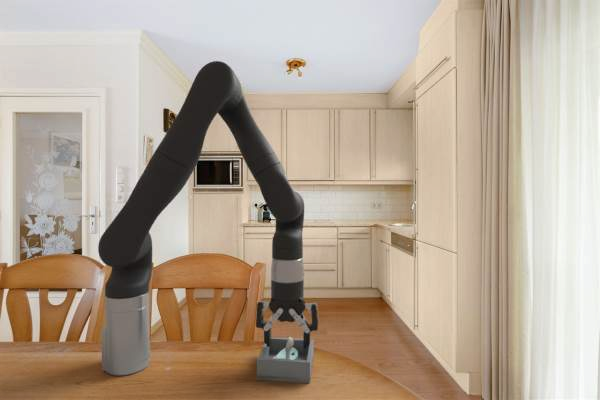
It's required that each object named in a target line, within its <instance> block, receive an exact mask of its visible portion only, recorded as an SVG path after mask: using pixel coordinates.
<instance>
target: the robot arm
mask: <svg viewBox="0 0 600 400" xmlns="http://www.w3.org/2000/svg"><path fill="white" fill-rule="evenodd" d="M184 99H185V100H184V102H183V104H182V106H181V108H180V110H179V112H177V113H178V114H177V115H176V117H175V118H174V120H173V122H172V123H171V125H170V127H169V128H168V130H167V132H165V135H164V137H163V138H162V140H161V142H160V143H159V144H158V146H157V147H156V149H155V151H154V153H153V154H152V156H151V157H150V159H149V161H148V162H147V164H146V167H145V169H144V170H143V172H142V174H141V176H140V177H139V179H138V181H137V182H136V184H135V186H134V188H133V189H132V191H131V194H130V195H129V197H128V199H127V201H126V202H125V204H124V205H123V207H122V208H121V210H120V211H119V212H118V214H117V215H116V216H115V218H114V219H113V220H112V221H111V223H110V224H109V225H108V227H107V228H106V229H105V231H104V232H103V234H102V235H101V236H100V239H99V241H98V247H97V248H98V249H97V251H98V255H99V259H100V260H101V261H102V262H103V264H105V265H106V266H108V267H111V271H110V275H109V276H108V279H107V281H106V282H105V285H104V301H105V302H104V305H105V306H104V308H105V326H104V327H103V328H102V329H101V335H100V336H101V371H103V372H106V373H107V374H109V375H111V376H128V375H132V374H135V373H139V372H141V371H142V370H145V369H146V368H147V367H148V366H149V365H150V363H151V361H150V360H151V356H150V355H151V351H150V349H151V348H150V345H151V344H150V343H151V342H150V341H151V338H150V337H151V336H150V335H151V334H150V283H151V282H150V281H151V278H152V275H153V274H152V272H153V240H152V236H151V234H150V231H151V228H152V227H153V225H154V223H155V221H156V220H157V219H158V217H159V216H160V215H161V214H162V212H163V211H164V210H165V209H166V208H167V207H168V205H170V204H171V203H172V201H174V199H175V198H176V197H177V196H178V195H179V193H181V191H182V190H183V188H184V187H185V185H186V184H187V182H188V181H189V179H190V177H191V176H192V174H193V172H194V170H195V169H196V166H197V165H198V163H199V160H200V157H201V154H202V150H203V147H204V142H205V139H206V135H207V132H208V129H209V127H210V126H211V124H212V123H213V120H214V118H215V117H216V116H217V114H218V115H219V116H220V118H221V119H222V121H224V123H225V124H226V126H227V127H228V129H229V131H230V132H231V133H232V136H233V137H234V138H233V139H234V140H235V142H236V144H237V147H238V150H239V151H240V155H241V156H242V159H243V160H244V162H245V164H246V166H247V168H248V170H249V172H250V173H251V175H252V177H253V179H254V180H255V182H256V184H257V185H258V187H259V189H260V192H261V195H262V197H263V200H264V202H265V205H266V207H267V208H268V211H269V212H270V214H271V215H272V216H273V218H274V219H275V231H274V233H273V236H272V241H271V242H272V243H271V244H272V245H271V253H272V255H271V265H270V267H271V268H270V301H265V300H264V299H263V298H262V299H260V300H258V302H257V304H256V315H255V316H256V319H255V320H256V321H255V327H256V328H257V329H262V330H263V343H264V344H267V347H270V345H271V337H272V328H271V327H272V326H273V325H274V324H275V323H276V321H279V322H283V323H284V322H288V323H294V322H296V323H297V325H298V326H299V327H301V329H302V330H303V338H302V339H303V349H307V346H309V344H310V339H311V332H313V331H314V332H316V331H318V329H319V312H318V311H319V310H318V303H317V301H312V302H305V299H304V298H305V297H304V296H305V294H304V293H305V292H304V291H305V290H304V287H305V286H304V284H305V283H304V281H305V280H304V279H305V278H304V277H305V269H304V266H305V265H304V260H303V255H304V254H303V253H304V252H303V251H304V250H303V247H304V245H303V229H304V223H305V221H304V220H305V203H304V199H303V197H302V196H301V194H300V193H299V192H298V191H295V190H294V189H293V187H292V185H291V184H290V181H289V180H288V179H287V176H286V171H285V169H284V167H283V165H282V163H281V161H280V160H279V157H278V155H277V154H276V153H275V151H274V149H273V147H272V146H271V144H270V143H269V141H268V140H267V139H268V138H266V136H265V135H264V134H263V132H262V130H261V129H260V127H259V126H258V124H257V122H256V121H255V119H254V117H253V115H252V113H251V111H250V108H249V107H248V103H247V101H246V97H245V95H244V92H243V89H242V84H241V82H240V80H239V78H238V76H237V75H236V74H235V72H234V70H233V69H232V67H230V65H228V64H227V63H226V62H223V61H221V60H220V61H219V60H215V61H214V60H213V61H210V62H209V63H206V64H205V65H203V66H202V67H201V69H200V70H199V71H198V72H197V74H196V76H195V77H194V80H193V81H192V84H191V86H190V89H189V91H188V93H187V95H186V98H184ZM267 308H269V310H270V311H271V313H272V314H271V316H270V318H269V319H268V320H267V321H265V320H264V313H265V311H267ZM306 309H307V312H308V313H309V314H311V323H309V322H308V320H307V319H306V316H305V315H304V313H303V312H304V311H305V310H306Z"/></svg>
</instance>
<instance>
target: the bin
mask: <svg viewBox="0 0 600 400" xmlns="http://www.w3.org/2000/svg"><path fill="white" fill-rule="evenodd" d="M288 338H289V337H272V336H271V345H270V347H267V344H265V343H264V344H263V346H262V348H261V350H260V352H259V353H258V356H257V359H256V380H257V381H268V382H269V381H270V382H272V381H273V382H275V381H276V382H286V383H288V382H289V383H303V384H304V383H305V384H310V383H311V380H312V379H311V378H312V371H313V364H314V358H315V357H314V356H315V355H314V354H315V349H314V348H315V347H314V346H315V341H314V340H315V339H311V338H310V344H309V346H307V349H303V338H294V337H293V338H292V337H291V338H292V339H293V347H294V348H295V349H296V350H297V351H298V356H297V359H296V360H289V359H272V358H273V357H274V356H276V355H278V353H279V352H280V351H281V350H283V349H284V348H286V344H287V341H288ZM291 355H294V353H293V354H291Z"/></svg>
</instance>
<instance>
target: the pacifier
mask: <svg viewBox="0 0 600 400" xmlns="http://www.w3.org/2000/svg"><path fill="white" fill-rule="evenodd" d="M287 338H288V341H287V344H286V348H284V349H283V350H281V351H280V352H279V353H278V355H276V356H274V357H273V358H272V359H289V360H296V359H297V356H298V351H297V350H296V349H295V348H294V347H293V339H294V338H293V339H292V337H291V336H289V337H287ZM293 353H294V355H291V354H293Z"/></svg>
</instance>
